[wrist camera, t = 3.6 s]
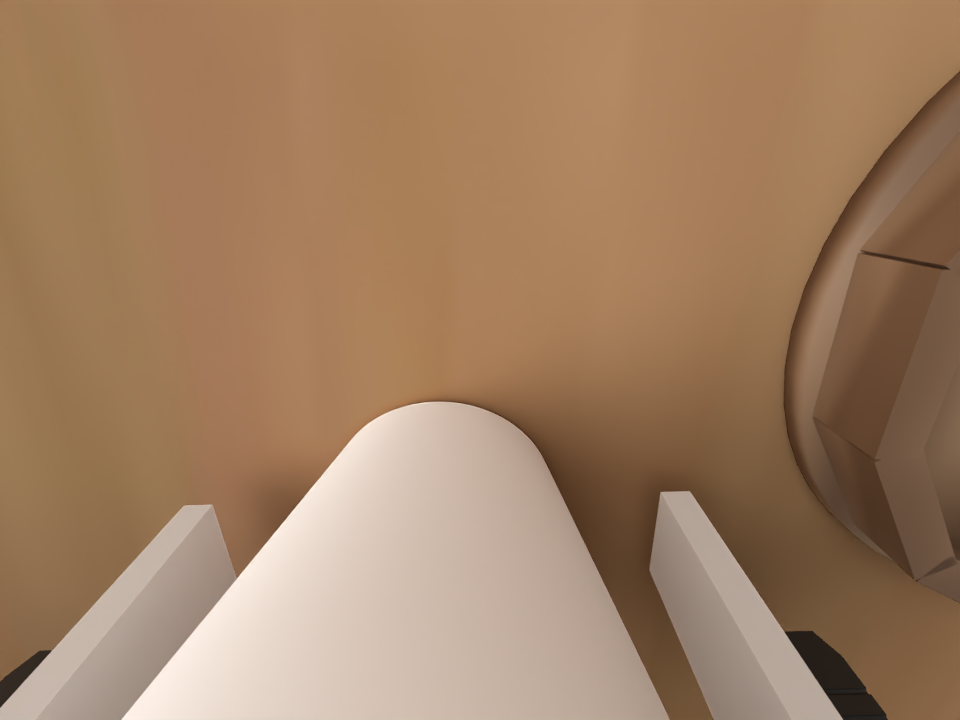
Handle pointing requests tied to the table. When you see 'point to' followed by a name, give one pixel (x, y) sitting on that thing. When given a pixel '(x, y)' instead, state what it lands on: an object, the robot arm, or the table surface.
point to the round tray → (889, 355)
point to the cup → (416, 595)
